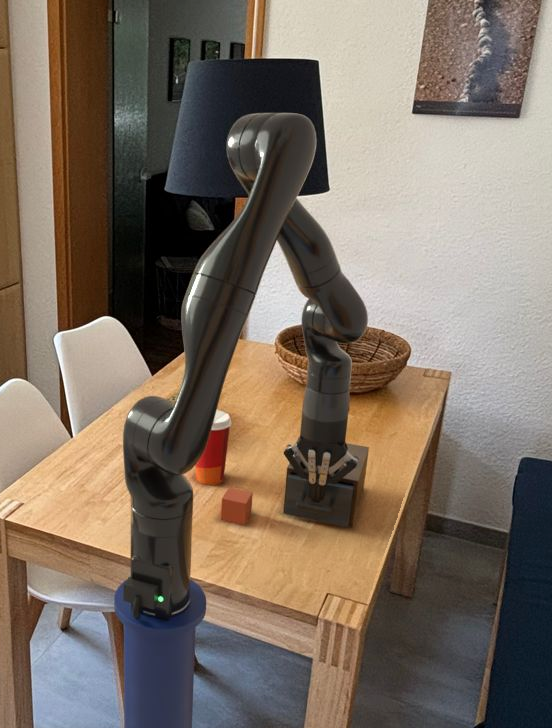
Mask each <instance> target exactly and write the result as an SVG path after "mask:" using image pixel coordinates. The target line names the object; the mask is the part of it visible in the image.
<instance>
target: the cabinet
mask: <svg viewBox="0 0 552 728" xmlns="http://www.w3.org/2000/svg"><path fill="white" fill-rule="evenodd" d="M346 445H347V447H348V450H347V451H348V452H349V453H350V454H351V455H352V456H357V457H358V463H357V466H356V468H354V469H353V470H352V471H351V472H350V473H348V474H347V475H346V476H345V477H343V478H342V479H341V480H340V482H345V483H350V484H353V486H354V489H353V497H352V505H351V513H350V521H349V526H348V527H347V528H354V525H355V524H354V523H355V521H356V517H357V514H358V510H359V507H360V504H361V501H362V496H363V493H364V489H365V483H366V475H367V467H368V466H367V465H368V458H369V450H370V447H369V446H365V445H359V444H354V443H348V442H346ZM299 452H300V451H299ZM299 456H300V457H301V459H302V460H303V462H304V463H305V465H306V466H307V468H308V462H307V461H306V460H305V459H304V457H303V455H302V454H301V452H300V453H299ZM343 459H344V457H342V458H341V459H340V460H339V461H338V462H337V463H336V464H335V465H333V466H332V467H330V470H329V474H331V473H333V472H334V471H335V470H337V469H338V468H339V467H340V466H342V465H343V464H342V462H343ZM320 471H321V466H319V467H318V478H319V477H320ZM295 473H296V471H295V470H294V468H293V467H292V465H291V464H290V463H288V464H287V466H286V475H285V488H284V499H283V511H282V512H283V513H282V514H285V505H286V493H287V482H288V476H289V474H291V475H294V474H295Z"/></svg>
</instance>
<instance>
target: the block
mask: <svg viewBox="0 0 552 728" xmlns="http://www.w3.org/2000/svg"><path fill="white" fill-rule="evenodd" d="M253 495H254V493H253V491H250V490H244V489H240V488H235V487H230V486H229V487H228V488H227V489H226V491H225V493H224V494H223V496H222V497H221V505H220V506H221V508H220V521H223V522H228V523H233V524H237V525H242V526H246V524H247V522H248V520H249V519H250V517H251V515H252V513H253V512H252V510H253Z"/></svg>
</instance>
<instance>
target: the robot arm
mask: <svg viewBox="0 0 552 728" xmlns="http://www.w3.org/2000/svg"><path fill="white" fill-rule="evenodd" d="M225 148H226V156H227V160H228V163H229V165H230V168H231V169H232V172H233V173H234V175H235V177H236V178H237V180H238V181H239V183H240V185H241V186H242V188H243V189H244V190H245V191H246V193H247V195H248V197H247V199H246V201H245V203H244V205H243V207H242V208H241V210H240V211H239V213H238V214H237V215H236V217H235V218H234V219H233V220H232V222H231V223H230V224H229V225H228V226H227V227H226V228H225V229H224V230H223V231H222V232H221V233H220V234H219V235H218V236H217V238H216V239H215V240H213V242H212V243H211V244H210V245H209V246H208V248H207V249H206V250H205V251H204V253H203V254H202V255H201V256H200V258H199V260H198V261H197V264H196V265H195V268H194V270H193V272H192V275H191V278H190V281H189V284H188V287H187V289H186V292H185V294H184V297H183V301H182V304H181V313H180V314H181V315H180V318H181V319H180V320H181V321H180V322H181V333H182V341H183V350H184V372H183V377H182V381H181V385H180V389H179V391H178V393H179V394H178V397H177V400H176V403H173V402H171V401H169V400H166V399H167V398H164V397H162V396H157V395H147V396H144V397H142V398H140V399H139V400H137V401H136V402H135V403H134V404H133V405H132V407H130V409H129V411H128V414H127V415H126V418H125V421H124V426H123V431H122V455H123V470H124V482H125V486H126V489H127V491H128V494H129V497H130V576H128V578H127V579H125V580H126V582H125V583H124V584H123V599H124V601H125V602H129V603H131V611H132V613H133V616H134V618H135V619H136V620H139V619H140V617H141V616H140V614H143V615H146V616H150V617H154V618H157V619H161V620H164V621H169V620H170V618H171V617H173V616H176V615H179V614H181V613H182V612H184V611H185V610H186V609H187V608H188V606H189V604H190V598H191V595H190V579H191V577H192V576H191V573H192V570H191V569H192V545H193V544H192V542H193V541H192V540H193V518H194V517H193V516H194V515H193V513H194V489H193V486H192V484H191V482H190V480H188V478H187V477H186V476H185V474H187V473H188V472H191V471H192V469H194V468H195V465H196V464H197V462H198V461H199V460H200V458H201V456H202V454H203V452H204V450H205V448H206V445H207V442H208V439H209V436H210V433H211V429H212V426H213V422H214V418H215V414H216V411H217V410H218V407H219V402H220V400H221V395H222V392H223V389H224V384H225V381H226V378H227V375H228V372H229V369H230V366H231V363H232V360H233V357H234V354H235V351H236V349H237V347H238V344H239V340H240V338H241V335H242V333H243V330H244V328H245V325H246V324H247V321H248V319H249V315H250V313H251V310H252V307H253V305H254V302H255V300H256V297H257V294H258V292H259V288H260V285H261V282H262V279H263V276H264V273H265V270H266V268H267V265H268V264H269V261H270V258H271V256H272V253H273V251H274V249H275V246H276V243H278V246H279V248H280V250H281V251H282V254H283V257H284V258H285V261H286V263H287V265H288V269H289V270H290V273H291V275H292V278H293V280H294V282H295V284H296V286H297V289H298V291H299V292H300V294H301V295H302V296H304V297H305V298H307V300H306V302H305V304H304V307H303V308H302V313H301V330H302V337H303V343H304V348H305V354H306V357H307V370H306V382H305V383H306V384H305V388H304V392H303V399H302V408H301V421H300V433H299V437H298V438H297V440H296V443H293V444H287V445H286V447H285V449H284V451H283V455H284V456H285V458H286V460H287V461H288V462H289V463H290V464H291V465H292V467H293V468H294V470H295V471H296V473H297V474H298V476H299V477H300V478H302V479H304V478H305V479H306V480H308V482H309V488H308V497H309V498H311V502H316V503H320V501H321V500H322V501H323V499H324V498H325V495H326V486H327V484H330V483H331V484H333V485H334V484H336V483H337V482H338V481H340V480H341V479H342V478H343V477H345V476H346V475H347V474H348V473H350V472H351V471H352V470H353V469H354V468H356V466H357V463H358V457H357V456H352V455H351V454H350V453H349V452H348V451H347V450H348V447H347V445H346V443H347V442H346V441H347V429H348V421H349V414H350V410H351V409H350V407H351V405H350V402H351V398H350V387H351V378H352V371H353V369H352V368H353V360H352V358H351V356H350V355H349V354H348V353H347V352H346V351H344V350H343V349H342V348H341V347H340V346H339V344H344V345H345V344H346V345H347V344H353V343H355V342H357V341H359V340H361V338H363V336H364V334H365V333H366V331H367V328H368V323H369V315H368V314H369V313H368V310H367V306H366V304H365V302H364V300H363V299H362V297H361V296H360V294H359V293H358V291H357V290H356V288H355V287H354V285H353V284H352V282H351V281H350V280H349V279H348V278H347V276H346V275H345V273H343V270H342V267H341V266H340V262H339V259H338V257H337V253H336V252H335V248H334V246H333V244H332V241H331V240H330V239H331V238H330V237H329V236H328V234H327V233H326V231H325V229H324V228H323V227H322V225H321V224H320V223H319V222H318V221H317V220H316V218H315V217H314V216H313V215H312V214H311V213H310V212H309V210H307V209H306V207H305V206H304V205H303V204H302V202H301V201H300V200H299V199H298V196H299V194H300V192H301V190H302V188H303V185H304V183H305V182H306V179H307V176H308V174H309V172H310V170H311V168H312V165H313V162H314V159H315V155H316V149H317V132H316V129H315V125H314V124H313V122H312V120H311V119H310V118H309V117H307V116H306V115H304V114H301V113H294V112H257V113H248V114H246V115H243V116H241V117H240V118H238V119H237V120H236V121H235V122H234V123H233V124H232V126H231V128H230V129H229V132H228V133H227V138H226V147H225ZM299 451H300V452H301V454H302V455H303V457H304V459H305V460H306V461H307V462H308V468H307V466H306V465H305V463H304V462H303V460H302V459H301V457H300V456H299V453H300V452H299ZM342 457H344V459H343V462H342V464H343V465H342V466H340V467H339V468H338V469H337V470H335V471H334V472H333V473H331V474H329V470H330V467H332V466H333V465H335V464H336V463H337V462H338V461H339V460H340V459H341V458H342ZM289 463H288V464H289ZM319 466H321V471H320V477H319V479H318V467H319Z"/></svg>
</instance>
